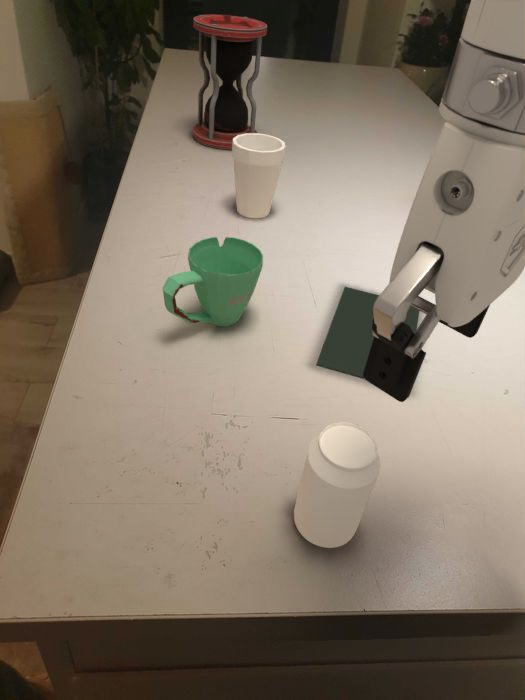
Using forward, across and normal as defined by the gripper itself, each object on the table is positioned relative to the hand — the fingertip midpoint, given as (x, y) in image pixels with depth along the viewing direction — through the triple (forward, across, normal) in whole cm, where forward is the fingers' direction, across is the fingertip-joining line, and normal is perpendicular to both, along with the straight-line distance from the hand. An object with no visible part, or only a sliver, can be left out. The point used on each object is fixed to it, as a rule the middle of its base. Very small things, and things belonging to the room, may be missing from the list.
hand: (422, 355), depth 37 cm
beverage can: (+23, -2, +2) cm, 23 cm away
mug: (+23, +11, +33) cm, 42 cm away
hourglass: (+23, +65, +85) cm, 109 cm away
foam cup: (+23, +41, +54) cm, 71 cm away
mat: (+22, +27, +16) cm, 39 cm away
